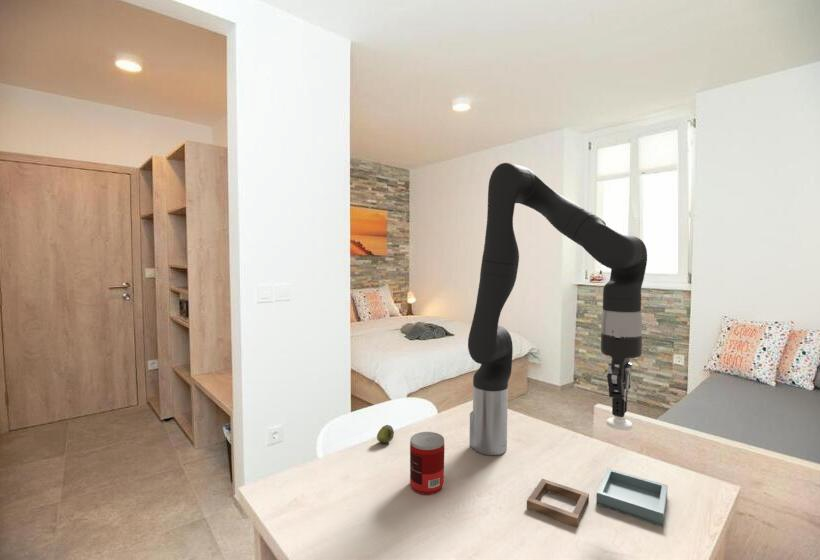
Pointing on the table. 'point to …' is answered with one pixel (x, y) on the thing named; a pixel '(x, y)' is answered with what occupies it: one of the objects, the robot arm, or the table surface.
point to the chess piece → (619, 422)
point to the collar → (553, 511)
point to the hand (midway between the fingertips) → (619, 413)
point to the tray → (633, 496)
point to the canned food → (427, 462)
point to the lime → (385, 434)
